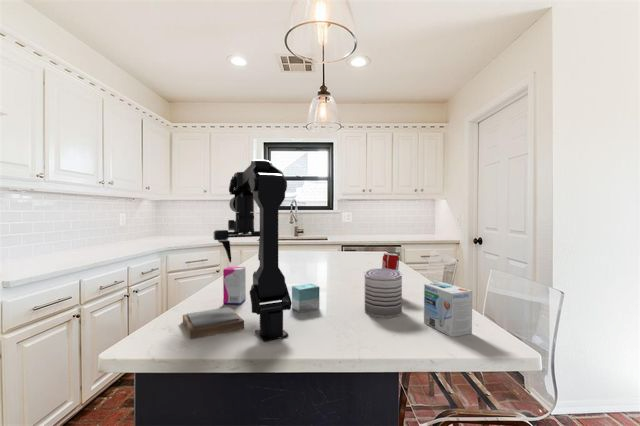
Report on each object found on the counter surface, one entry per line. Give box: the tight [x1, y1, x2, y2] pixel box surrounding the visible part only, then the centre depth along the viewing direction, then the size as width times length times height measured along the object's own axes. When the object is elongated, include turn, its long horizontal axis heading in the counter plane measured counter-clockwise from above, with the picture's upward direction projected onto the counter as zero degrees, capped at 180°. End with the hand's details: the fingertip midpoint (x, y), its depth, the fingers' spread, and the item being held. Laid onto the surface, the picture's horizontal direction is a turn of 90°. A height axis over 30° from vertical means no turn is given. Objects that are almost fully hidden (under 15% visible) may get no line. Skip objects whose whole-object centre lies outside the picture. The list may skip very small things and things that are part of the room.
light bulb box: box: [423, 281, 473, 338], centre depth 83 cm, size 11×7×11 cm, turn 21°
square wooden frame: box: [182, 306, 245, 340], centre depth 85 cm, size 13×13×2 cm
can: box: [363, 267, 404, 318], centre depth 97 cm, size 11×11×12 cm
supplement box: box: [222, 266, 247, 306], centre depth 106 cm, size 6×6×12 cm
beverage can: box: [381, 252, 400, 271], centre depth 114 cm, size 6×6×15 cm
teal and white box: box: [291, 283, 320, 314], centre depth 99 cm, size 7×5×7 cm
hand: (245, 261), depth 102 cm, fingers open, 9 cm apart
